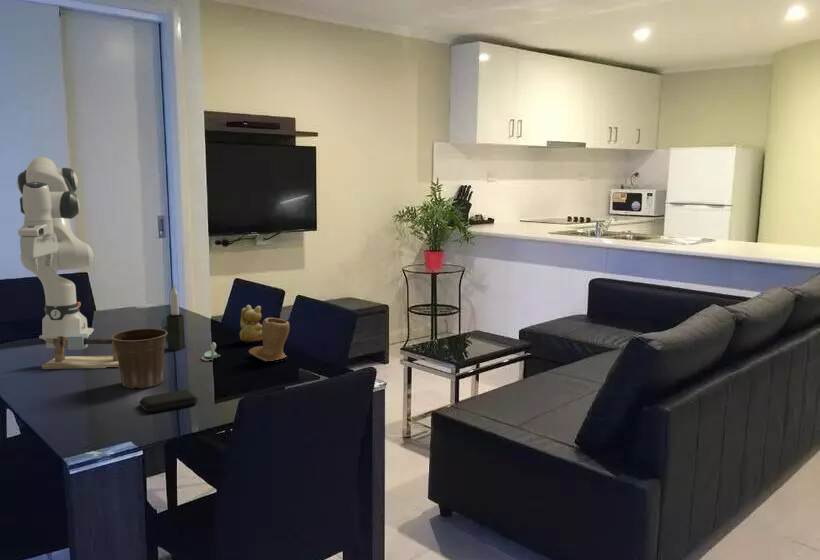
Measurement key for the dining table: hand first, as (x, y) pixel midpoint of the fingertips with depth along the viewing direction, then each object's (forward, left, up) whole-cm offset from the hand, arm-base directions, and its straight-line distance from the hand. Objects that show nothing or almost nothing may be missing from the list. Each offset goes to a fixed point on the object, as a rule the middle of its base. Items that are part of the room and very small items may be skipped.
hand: (42, 268), depth 233 cm
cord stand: (+8, +17, -33) cm, 38 cm away
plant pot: (+33, +43, -33) cm, 63 cm away
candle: (-12, +42, -33) cm, 55 cm away
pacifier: (+4, +58, -33) cm, 67 cm away
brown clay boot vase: (+5, +80, -33) cm, 87 cm away
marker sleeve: (+8, +14, -27) cm, 31 cm away
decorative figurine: (-20, +69, -33) cm, 79 cm away
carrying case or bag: (+54, +57, -33) cm, 85 cm away
